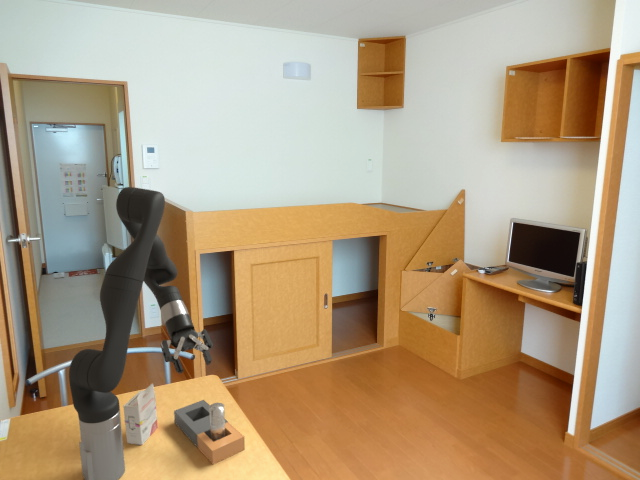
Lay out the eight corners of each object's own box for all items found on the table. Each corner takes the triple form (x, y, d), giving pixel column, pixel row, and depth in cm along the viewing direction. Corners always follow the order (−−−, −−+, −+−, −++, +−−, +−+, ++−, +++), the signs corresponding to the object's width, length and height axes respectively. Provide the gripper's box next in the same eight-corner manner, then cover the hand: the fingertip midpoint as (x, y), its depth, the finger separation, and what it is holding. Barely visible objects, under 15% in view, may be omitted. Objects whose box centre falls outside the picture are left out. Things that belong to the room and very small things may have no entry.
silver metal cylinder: (215, 452, 128) (213, 412, 126) (208, 445, 131) (206, 406, 129) (228, 446, 131) (227, 407, 128) (221, 439, 134) (219, 401, 131)
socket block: (213, 464, 124) (212, 450, 123) (174, 422, 141) (174, 410, 141) (244, 449, 130) (244, 436, 129) (204, 411, 147) (203, 399, 147)
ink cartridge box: (142, 425, 140) (139, 380, 137) (158, 427, 139) (155, 382, 136) (125, 443, 132) (121, 395, 129) (141, 446, 131) (138, 397, 128)
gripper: (156, 318, 135) (175, 370, 129) (202, 307, 144) (222, 355, 138) (150, 330, 140) (168, 380, 134) (195, 319, 149) (213, 366, 143)
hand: (195, 368), depth 136 cm, fingers open, 8 cm apart
